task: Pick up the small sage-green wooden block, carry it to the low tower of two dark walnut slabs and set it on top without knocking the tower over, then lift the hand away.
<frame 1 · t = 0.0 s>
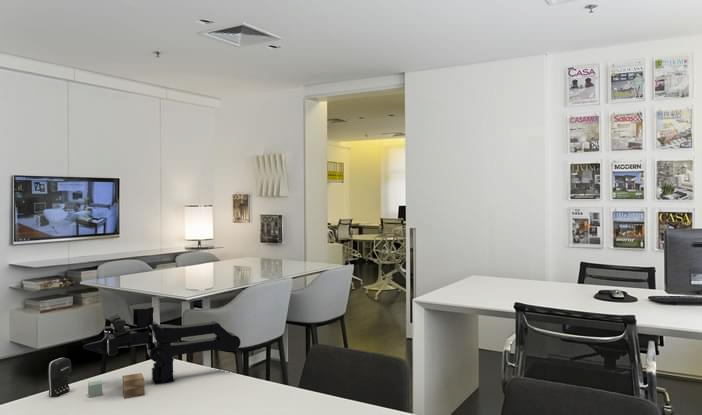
hand: (82, 343, 178), 17 cm above the table, tool horizontal, fingers open, 9 cm apart
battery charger: (60, 394, 179), on the table
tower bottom: (133, 395, 177), on the table, touching tower top
sage block: (95, 394, 177), on the table
tower top: (133, 385, 177), point 3 cm above the table, touching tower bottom
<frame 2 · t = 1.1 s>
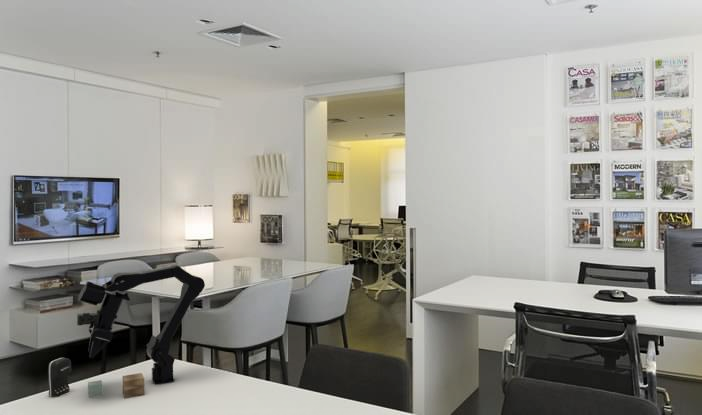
hand: (90, 355, 177), 13 cm above the table, tool tilted 25°, fingers open, 9 cm apart
nothing on the table moved.
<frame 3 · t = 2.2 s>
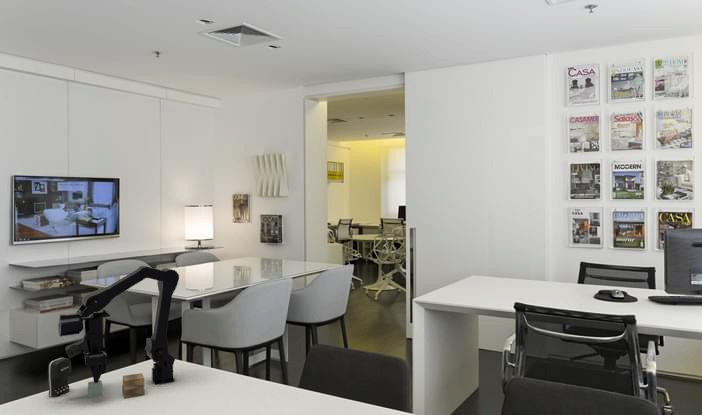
hand: (95, 378, 177), 5 cm above the table, tool pointing down, fingers open, 9 cm apart
nothing on the table moved.
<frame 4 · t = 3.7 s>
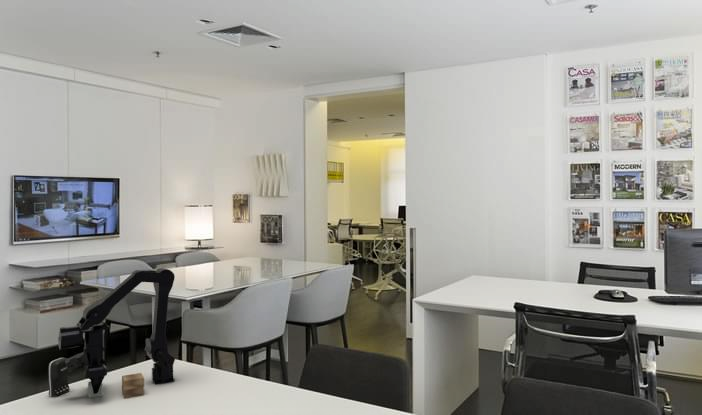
hand: (95, 391, 177), 1 cm above the table, tool pointing down, fingers closed on sage block, 4 cm apart
sage block: (95, 394, 177), on the table, touching gripper
everything else where it was.
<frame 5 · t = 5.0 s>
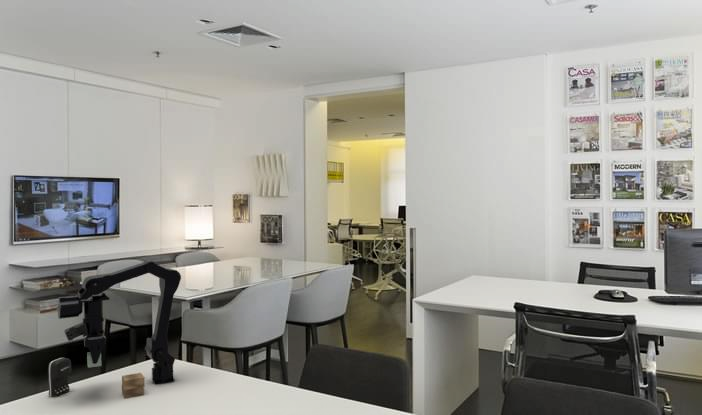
hand: (94, 361, 177), 11 cm above the table, tool pointing down, fingers closed on sage block, 4 cm apart
sage block: (94, 365, 177), point 10 cm above the table, touching gripper
everything else where it was.
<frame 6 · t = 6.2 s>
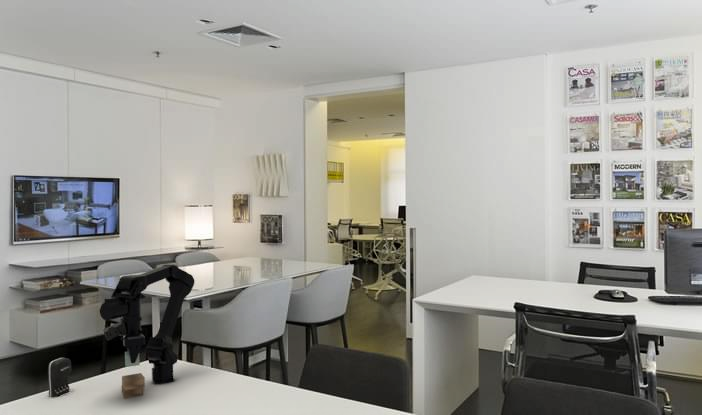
hand: (132, 361, 177), 11 cm above the table, tool pointing down, fingers closed on sage block, 4 cm apart
sage block: (132, 364, 177), point 10 cm above the table, touching gripper
everything else where it was.
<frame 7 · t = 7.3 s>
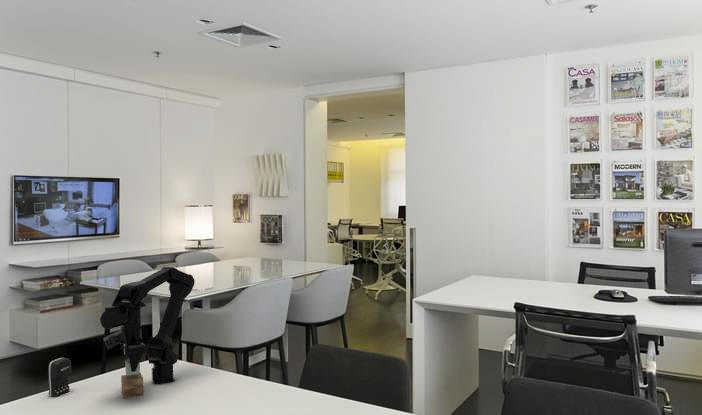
hand: (132, 369, 177), 8 cm above the table, tool pointing down, fingers closed on sage block, 4 cm apart
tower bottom: (132, 394, 177), on the table
sage block: (132, 372, 177), point 7 cm above the table, touching gripper
tower top: (132, 385, 177), point 3 cm above the table
everything else where it was.
when the fingers open (8 cm above the table, at t = 7.4 s): sage block drops 1 cm, resting on tower top.
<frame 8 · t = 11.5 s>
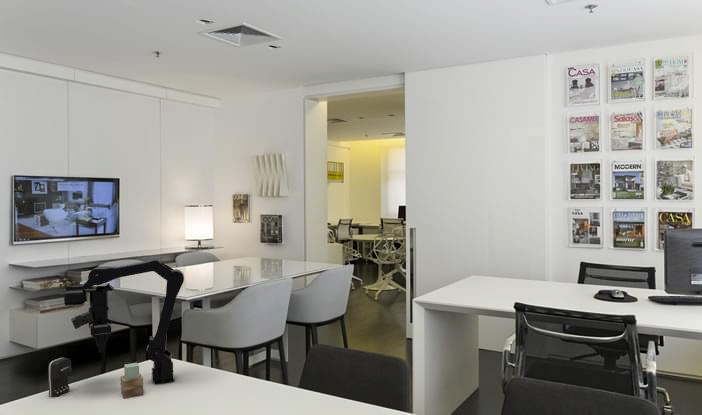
hand: (99, 349, 184), 13 cm above the table, tool pointing down, fingers open, 9 cm apart
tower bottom: (132, 395, 177), on the table, touching tower top
sage block: (131, 377, 177), point 6 cm above the table, touching tower top
tower top: (131, 386, 177), point 3 cm above the table, touching sage block, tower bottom
everything else where it was.
at the end: sage block 0.2 cm off-centre on the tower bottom, point 6.0 cm above the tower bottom's base; tower top 0.0 cm off-centre on the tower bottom, point 3.0 cm above the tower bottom's base; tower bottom moved 0.5 cm from its start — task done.
